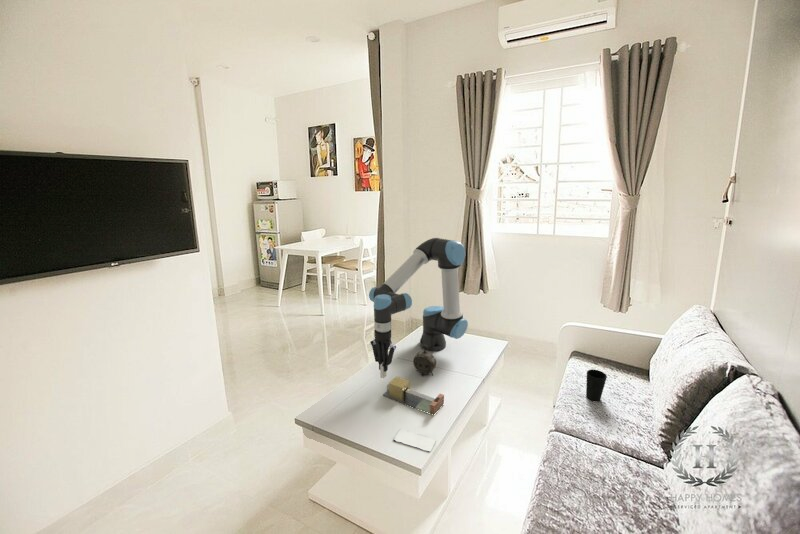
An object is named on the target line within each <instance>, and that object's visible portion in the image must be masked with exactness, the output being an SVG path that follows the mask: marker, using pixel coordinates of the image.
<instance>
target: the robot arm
mask: <svg viewBox="0 0 800 534" xmlns="http://www.w3.org/2000/svg"><path fill="white" fill-rule="evenodd" d="M465 258H466V248H465V246H464V244H462V243H461V241H456V240H453V239H446V238H440V237H434V238H433V237H432V238H429V239H426V240H425V241H424V242H422V243H420V244H419V245H418V246H417V247H416V248H415V249H413V252H412V254H411V255H410V256H409V257H408V258H407V259H406V260H405V261H404V262H403V263H402V264H401V265H400V266H399V268H397V270H395V271H394V272H393V273H392V274H391V275H390V276H389V277H388V278H387V279H386V280H385V281H384V282H383V283H382V284H381V285H380V286H374V287H372V288H371V289H370V290H369V293H368V298H369V300H370V301H371V302H372V303H373V319H374V321H373V322H374V324H373V327H374V339H372V340H371V341H370V342H369V343H370V345H371V347H372V348H371V349H372V352H373V356H374V361H375V362H376V363H378V370H379V371H380V373H379V375H380V379H384V378H386V377H387V371H388V366H390V364H392V362H393V359H394V353H395V350H396V349H397V346H396V345H394V344H392V340H391V339H392V315H395V314H398V313H401V312H403V311H404V312H405V311H406V310H409V309H410V308H411V307H412V306H413V304H412V303H413V299H412V297H411V296H410V294H408V293H406V292H405V293H404V292H402V293H400V294H398V293H397V292H398V291H399V290H400V289H401V288H402V287H403V286H404V285H405V284H406V283H407V282H408V281H409V280H410V278H412V276H414V274H416V272H417V271H419V270H420V268H421V267H422V266H424V265H427V264H428V263H429V262H430V261H437V267H438V268H439V269H440V271H441V286H442V287H441V289H442V303H443V304H442V306H440V305H432V306H428V307H425V308H424V309H423V312H422V333H421V337H420V339H419V346H420V347H421V346H422V345H424V346H422V348H421V349H423V350H427V347H428V350H427V351H428V352H430V351H431V352H438V351H442V350H444V349H445V348H446V346H447V341H446V338H445V335H446V336H448V337H449V338H453V339H455V340H456V339H461V338H462V337H463V336H464V335H465V334H466V332H467V329H468V325H469V322H468V320H467V319H466V318H464V316H463V315H464V313H463V311H462V310H461V309H460V308H461V306H460V283H459V282H460V280H459V269H460V268H461V267H462V264H463V263H464V261H465ZM425 345H426V346H427V347H426V346H425Z"/></svg>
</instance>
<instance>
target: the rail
mask: <svg viewBox="0 0 800 534" xmlns="http://www.w3.org/2000/svg"><path fill="white" fill-rule="evenodd" d="M389 383H390V382H388V383H387V384H386V391H385V392H384V393H383V394H382V396H383V397H384V398H386V399H387V398H388V399H390V400H393V401H394V400H395V402H397V403H399V404H402V403H403V405H405V404H406V405H405V406H407V405H408V406H407V407H410V406H411V407H410V408H412V407H413V408H412V409H415V408H416V410H417V409H419V410H418V411H420V410H422V411H425V412H428V413H430V414H433V415H434V414H435V413H436V412H437V411H438V410H439V409H440V407H441V406H442V405H443V404H445V394H442V393H439V394H438V395H437V396H436V397H435V398H434V397H432V396H430V395H426V394H424V393H421V392H419V391H415V390H413V389H407V388H406V389H405V390H404V399H403V400H401V399H398V398H396V397H393V396H390V395H389ZM443 406H444V405H443ZM443 406H442V407H443ZM442 407H441V408H442ZM440 410H441V409H440ZM440 410H439V411H440ZM422 411H421V412H422ZM439 411H438V412H439ZM425 412H424V413H425ZM438 412H437V413H438ZM437 413H436V414H437ZM430 414H429V415H430Z"/></svg>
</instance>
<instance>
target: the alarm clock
mask: <svg viewBox="0 0 800 534" xmlns="http://www.w3.org/2000/svg"><path fill="white" fill-rule="evenodd" d="M422 346H424V345H422ZM422 346H420V348H421V350H420V351H418V352H417V353H416V355H415V356H414V357H413V367H414V368H415V370H416V372H419V373H421V377H423V376H424V375H429V374H431V376H434V373H433V371H434V369H435V368H436V365H437V360H436V357H435V356H434V355H433V353H432V352H430V351H429V350H428V347H427V346H426V345H425V346H426V347H427V350H425V349H423V348H422Z"/></svg>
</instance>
